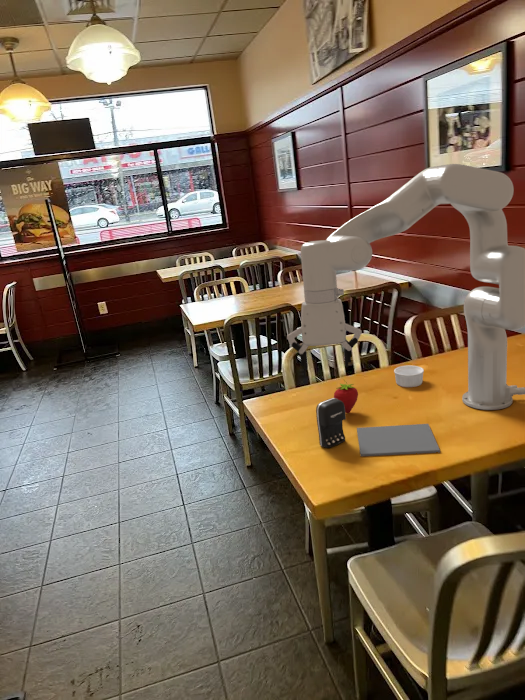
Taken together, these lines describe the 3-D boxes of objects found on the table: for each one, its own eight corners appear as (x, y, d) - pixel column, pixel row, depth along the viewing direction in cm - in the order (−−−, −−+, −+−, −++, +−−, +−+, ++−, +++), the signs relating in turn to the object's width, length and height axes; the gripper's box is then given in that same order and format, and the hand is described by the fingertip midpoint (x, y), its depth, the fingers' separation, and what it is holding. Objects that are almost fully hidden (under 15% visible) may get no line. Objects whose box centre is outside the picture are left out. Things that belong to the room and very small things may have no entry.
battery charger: (328, 451, 126) (324, 408, 123) (318, 446, 129) (314, 403, 126) (349, 441, 129) (346, 399, 126) (339, 436, 132) (336, 395, 129)
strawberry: (330, 415, 146) (327, 381, 143) (348, 406, 150) (346, 373, 147) (345, 420, 141) (343, 386, 138) (364, 411, 146) (362, 377, 143)
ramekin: (427, 379, 163) (427, 366, 162) (419, 389, 156) (418, 376, 155) (399, 376, 168) (399, 364, 167) (390, 386, 161) (390, 373, 160)
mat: (428, 425, 132) (428, 423, 132) (440, 452, 119) (439, 450, 119) (356, 430, 135) (356, 427, 135) (360, 456, 122) (360, 454, 122)
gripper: (358, 289, 121) (362, 359, 126) (284, 296, 123) (291, 364, 128) (360, 296, 114) (364, 369, 119) (282, 302, 116) (289, 374, 121)
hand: (326, 366), depth 123 cm, fingers open, 9 cm apart
